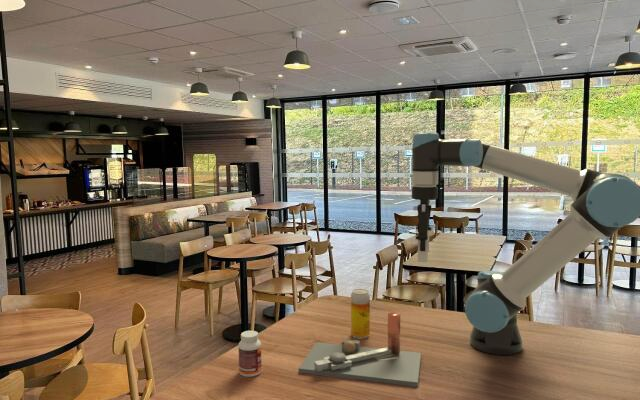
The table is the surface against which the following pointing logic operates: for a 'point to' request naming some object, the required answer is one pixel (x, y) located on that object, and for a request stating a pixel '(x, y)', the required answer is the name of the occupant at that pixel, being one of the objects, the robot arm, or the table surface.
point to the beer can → (360, 313)
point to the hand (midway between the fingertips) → (423, 256)
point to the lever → (391, 349)
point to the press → (365, 364)
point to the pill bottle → (249, 354)
